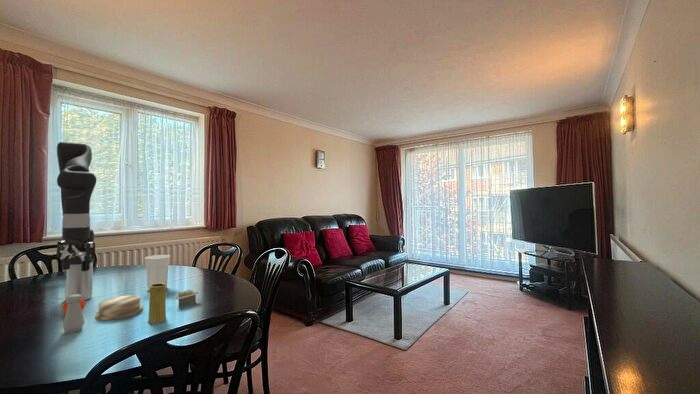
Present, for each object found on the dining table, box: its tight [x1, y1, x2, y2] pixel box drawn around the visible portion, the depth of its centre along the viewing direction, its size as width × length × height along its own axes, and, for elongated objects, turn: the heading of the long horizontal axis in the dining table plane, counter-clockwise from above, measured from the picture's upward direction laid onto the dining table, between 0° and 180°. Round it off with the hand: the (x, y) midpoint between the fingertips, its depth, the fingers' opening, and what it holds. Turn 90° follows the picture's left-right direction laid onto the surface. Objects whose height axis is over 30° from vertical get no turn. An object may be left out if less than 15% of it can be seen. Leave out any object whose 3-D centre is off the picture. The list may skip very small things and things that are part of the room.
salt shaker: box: [62, 294, 85, 334], centre depth 109 cm, size 6×6×13 cm
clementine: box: [62, 299, 86, 314], centre depth 125 cm, size 8×7×7 cm
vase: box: [147, 283, 167, 325], centre depth 119 cm, size 6×6×14 cm
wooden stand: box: [94, 294, 144, 321], centre depth 127 cm, size 16×16×5 cm
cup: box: [144, 254, 171, 293], centre depth 159 cm, size 11×11×17 cm
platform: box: [175, 289, 200, 308], centre depth 137 cm, size 12×18×7 cm, turn 149°
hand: (75, 270), depth 109 cm, fingers open, 8 cm apart
